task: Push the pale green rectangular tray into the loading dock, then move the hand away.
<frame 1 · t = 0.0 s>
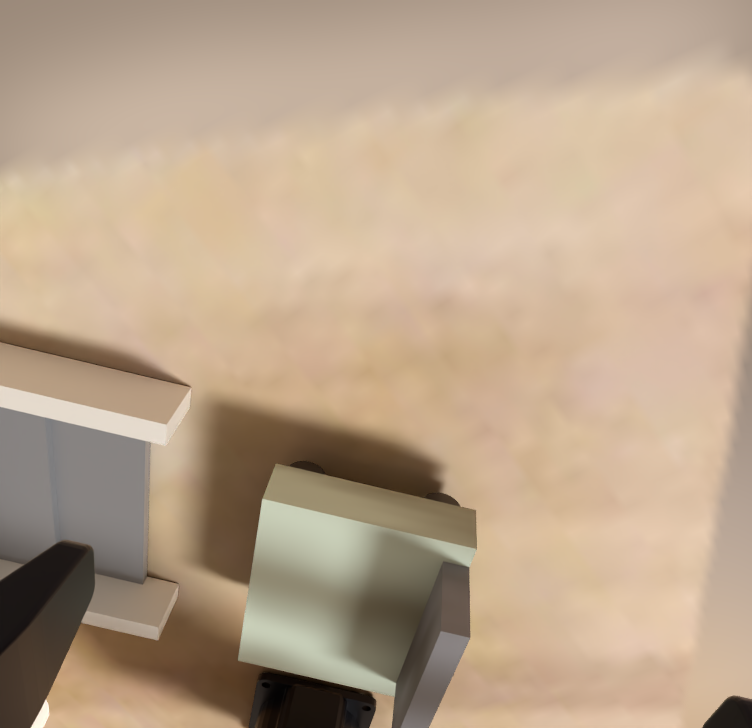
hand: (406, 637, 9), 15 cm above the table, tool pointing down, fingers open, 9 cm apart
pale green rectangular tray: (345, 608, 26), point 3 cm above the table, slide at 0.0 cm
loading dock: (61, 475, 29), on the table
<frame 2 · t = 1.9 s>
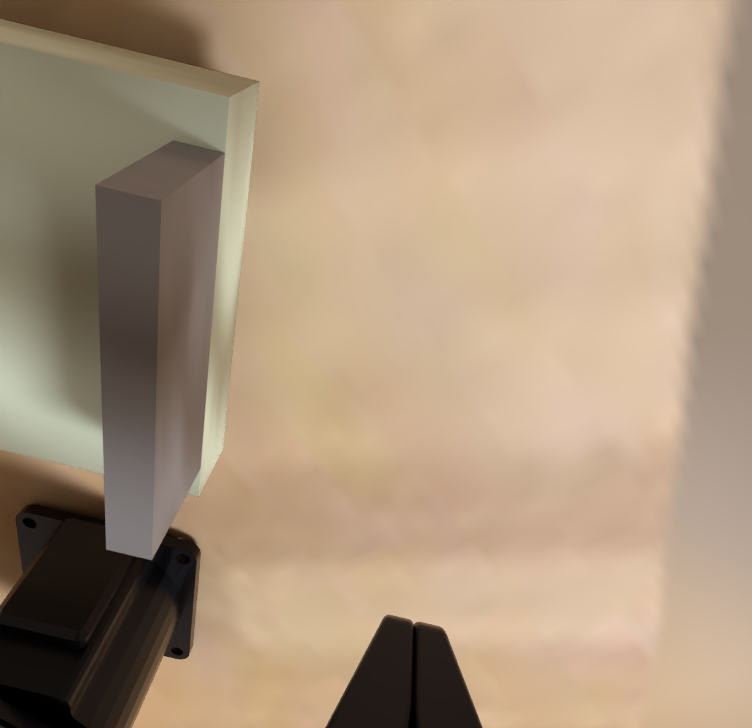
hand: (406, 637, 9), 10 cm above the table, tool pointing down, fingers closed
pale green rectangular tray: (36, 290, 14), point 3 cm above the table, slide at 0.0 cm
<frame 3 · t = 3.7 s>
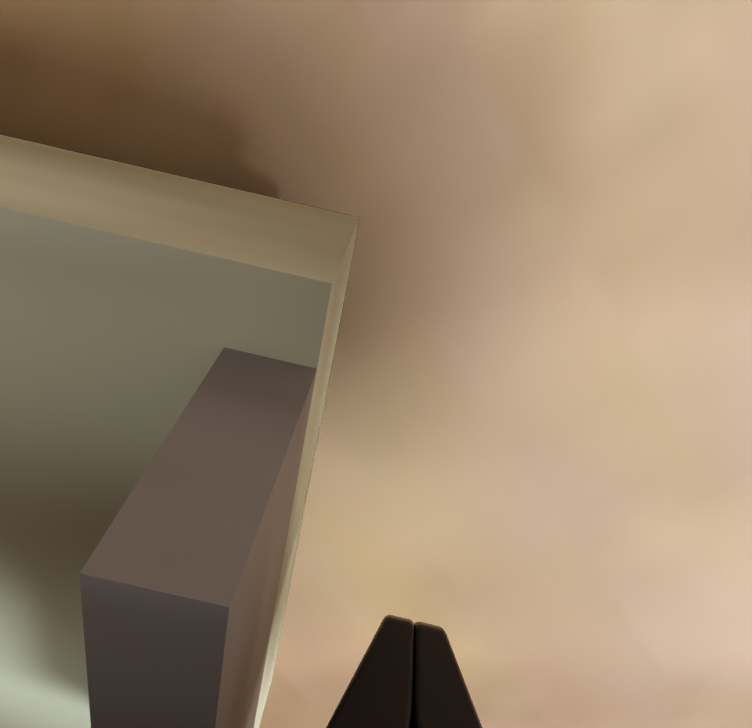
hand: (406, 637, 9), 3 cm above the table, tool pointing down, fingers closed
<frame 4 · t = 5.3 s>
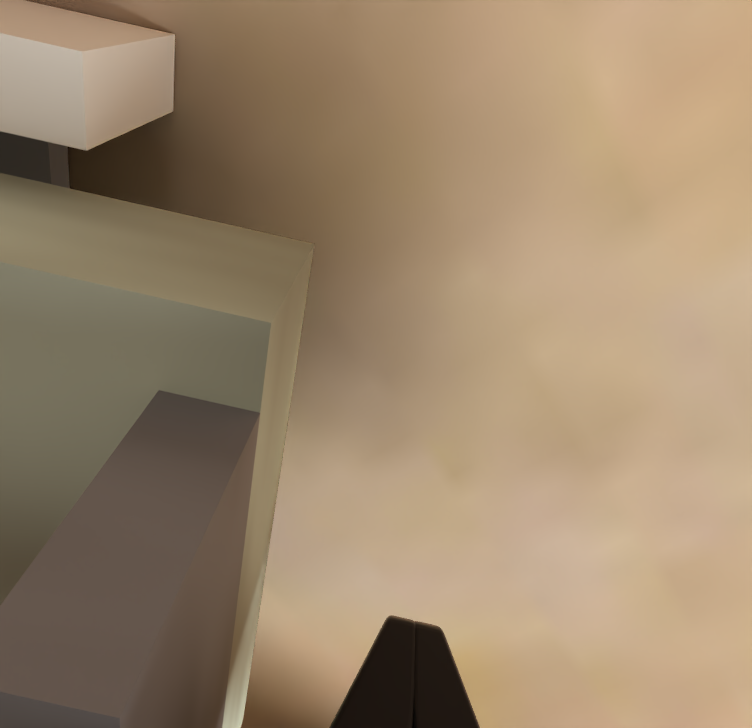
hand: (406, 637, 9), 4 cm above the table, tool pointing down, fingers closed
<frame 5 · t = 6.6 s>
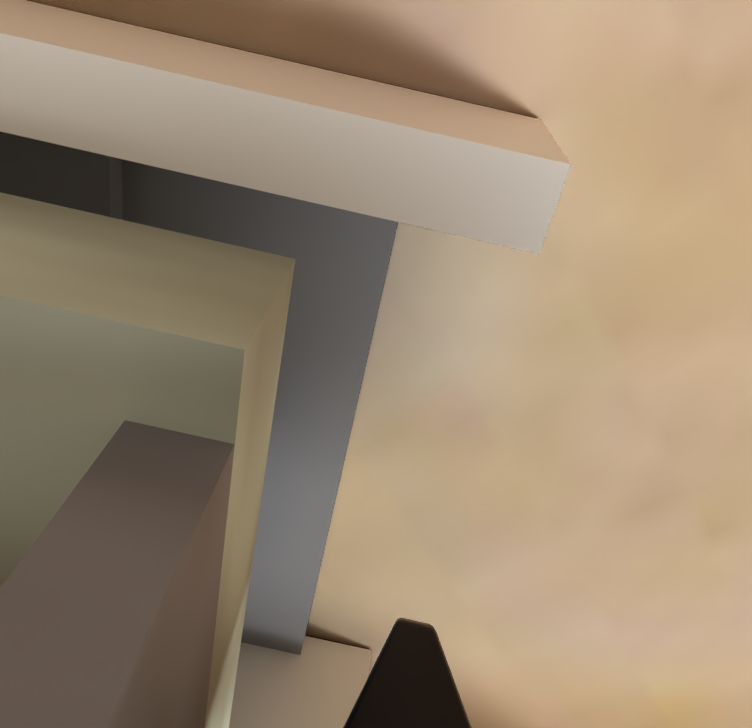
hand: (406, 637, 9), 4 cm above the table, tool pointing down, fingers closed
loading dock: (136, 410, 12), on the table
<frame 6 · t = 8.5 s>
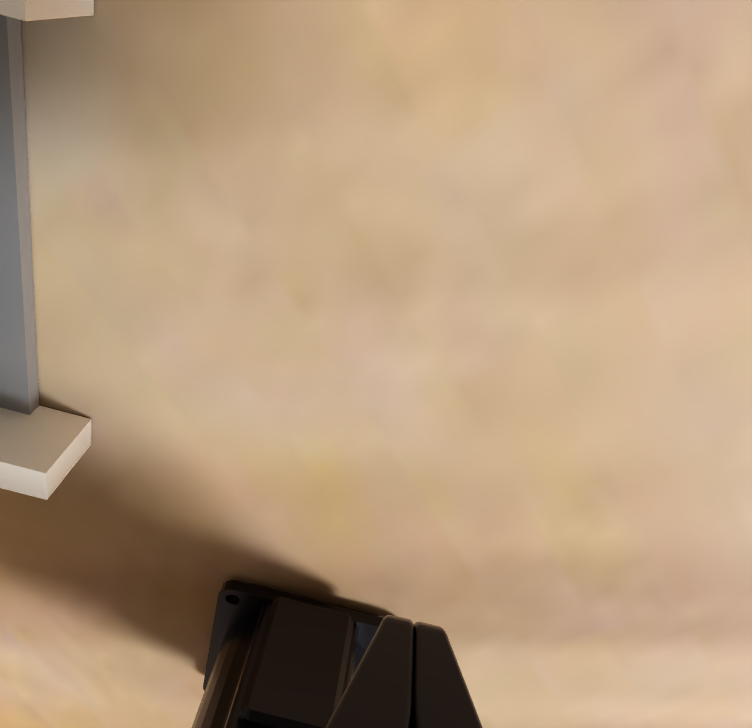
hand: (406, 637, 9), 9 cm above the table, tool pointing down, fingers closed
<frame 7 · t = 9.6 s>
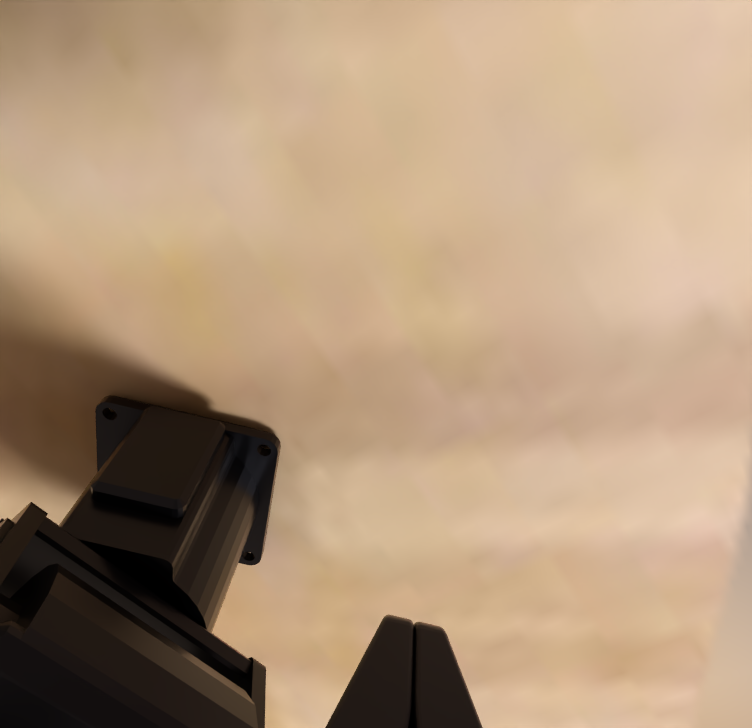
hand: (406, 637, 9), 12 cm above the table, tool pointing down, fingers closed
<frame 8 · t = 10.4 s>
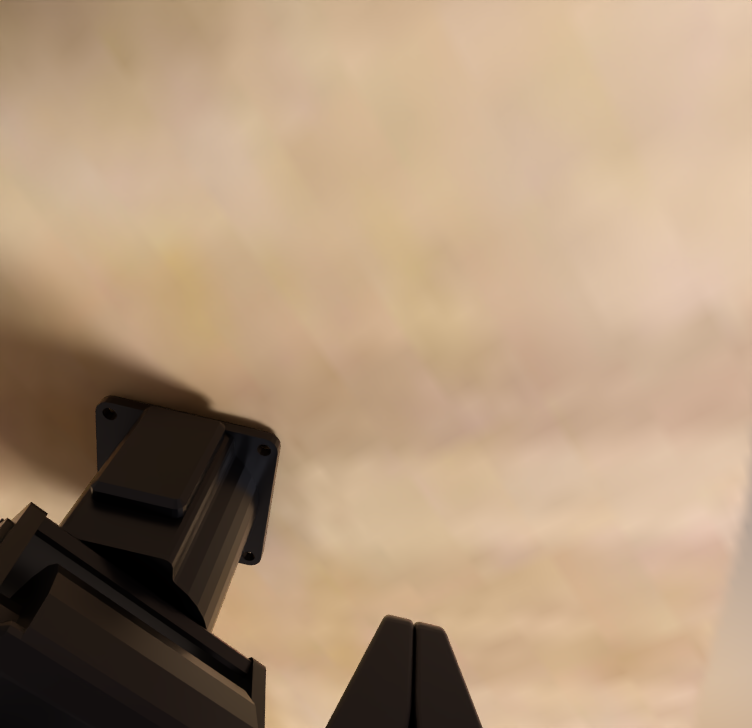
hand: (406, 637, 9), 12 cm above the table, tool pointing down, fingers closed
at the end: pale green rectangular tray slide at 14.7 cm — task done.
